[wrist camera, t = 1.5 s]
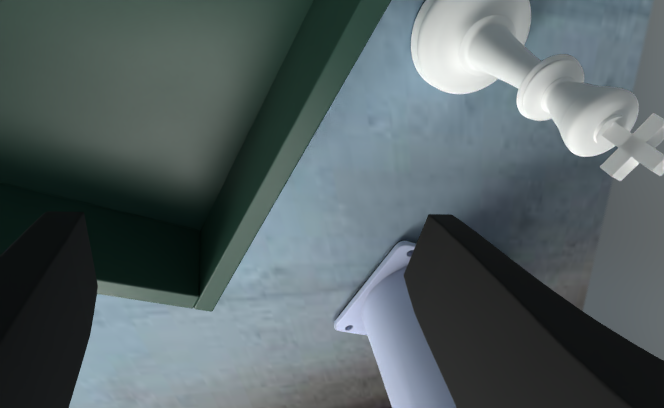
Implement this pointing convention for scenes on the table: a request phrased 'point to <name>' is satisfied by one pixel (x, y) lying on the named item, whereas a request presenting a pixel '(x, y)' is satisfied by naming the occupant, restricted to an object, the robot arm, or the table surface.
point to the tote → (165, 125)
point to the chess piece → (532, 80)
